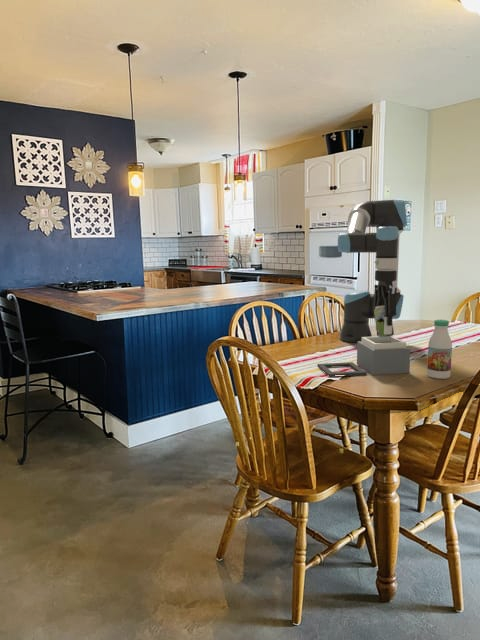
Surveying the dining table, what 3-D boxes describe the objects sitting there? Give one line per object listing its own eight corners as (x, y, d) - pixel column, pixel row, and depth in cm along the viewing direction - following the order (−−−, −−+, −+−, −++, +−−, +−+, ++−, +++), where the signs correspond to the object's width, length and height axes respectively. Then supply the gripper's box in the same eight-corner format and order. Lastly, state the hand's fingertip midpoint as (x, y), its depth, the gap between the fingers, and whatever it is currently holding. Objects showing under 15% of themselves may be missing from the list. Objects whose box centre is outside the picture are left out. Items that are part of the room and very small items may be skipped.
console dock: (356, 364, 183) (357, 336, 181) (390, 362, 185) (392, 334, 183) (372, 375, 169) (373, 345, 167) (409, 373, 170) (410, 343, 169)
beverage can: (394, 339, 171) (396, 306, 169) (373, 338, 172) (374, 306, 170) (392, 335, 177) (394, 304, 175) (372, 335, 179) (373, 304, 176)
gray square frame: (317, 366, 181) (317, 363, 181) (352, 364, 183) (352, 362, 182) (328, 376, 167) (328, 374, 167) (366, 374, 169) (366, 372, 169)
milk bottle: (422, 373, 170) (425, 318, 166) (443, 372, 170) (446, 318, 167) (433, 379, 162) (436, 322, 159) (454, 379, 163) (458, 322, 159)
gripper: (365, 268, 180) (363, 327, 184) (387, 271, 160) (385, 338, 164) (384, 268, 181) (381, 327, 184) (408, 271, 161) (405, 337, 165)
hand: (383, 332), depth 174 cm, fingers closed on beverage can, 7 cm apart
